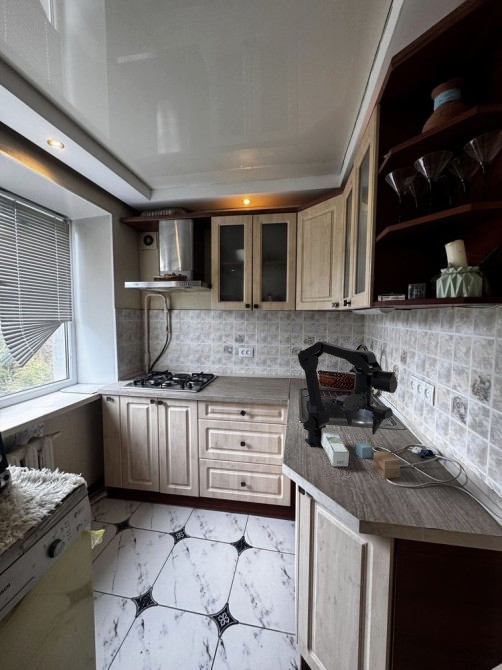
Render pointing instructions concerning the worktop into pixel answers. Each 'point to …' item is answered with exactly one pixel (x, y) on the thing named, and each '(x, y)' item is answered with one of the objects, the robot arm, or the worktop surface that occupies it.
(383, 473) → the tower base
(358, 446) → the blue block
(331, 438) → the syrup box
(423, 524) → the worktop surface
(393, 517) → the worktop surface
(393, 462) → the tower mid
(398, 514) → the worktop surface
